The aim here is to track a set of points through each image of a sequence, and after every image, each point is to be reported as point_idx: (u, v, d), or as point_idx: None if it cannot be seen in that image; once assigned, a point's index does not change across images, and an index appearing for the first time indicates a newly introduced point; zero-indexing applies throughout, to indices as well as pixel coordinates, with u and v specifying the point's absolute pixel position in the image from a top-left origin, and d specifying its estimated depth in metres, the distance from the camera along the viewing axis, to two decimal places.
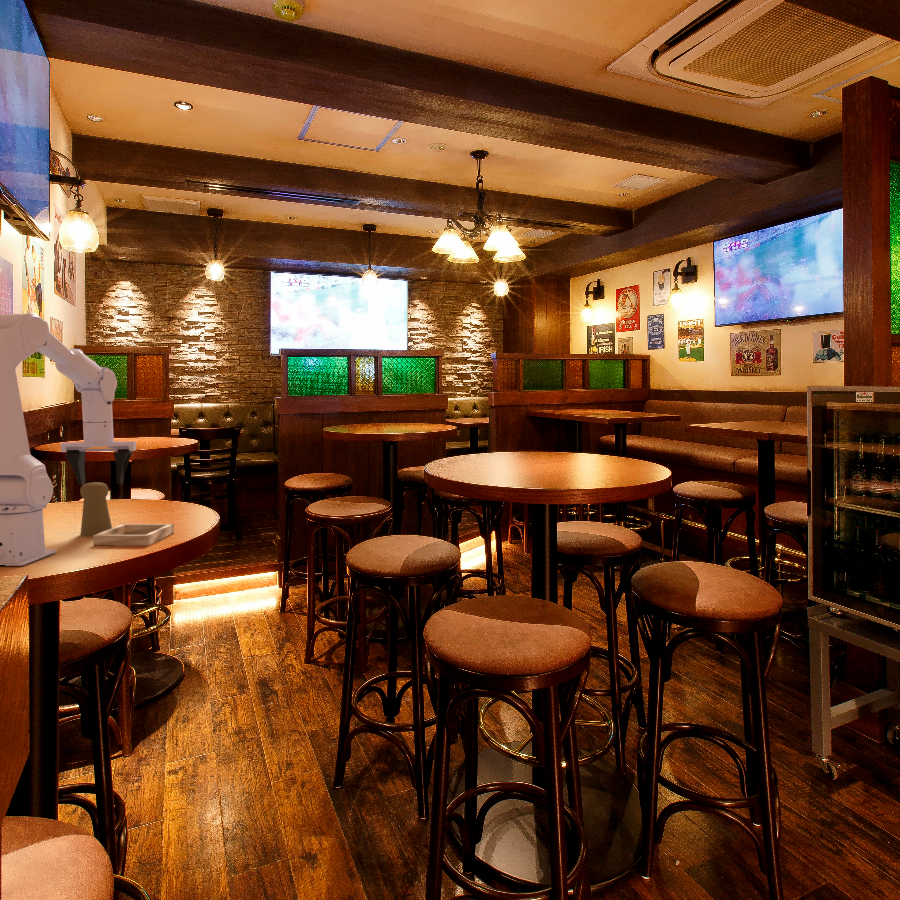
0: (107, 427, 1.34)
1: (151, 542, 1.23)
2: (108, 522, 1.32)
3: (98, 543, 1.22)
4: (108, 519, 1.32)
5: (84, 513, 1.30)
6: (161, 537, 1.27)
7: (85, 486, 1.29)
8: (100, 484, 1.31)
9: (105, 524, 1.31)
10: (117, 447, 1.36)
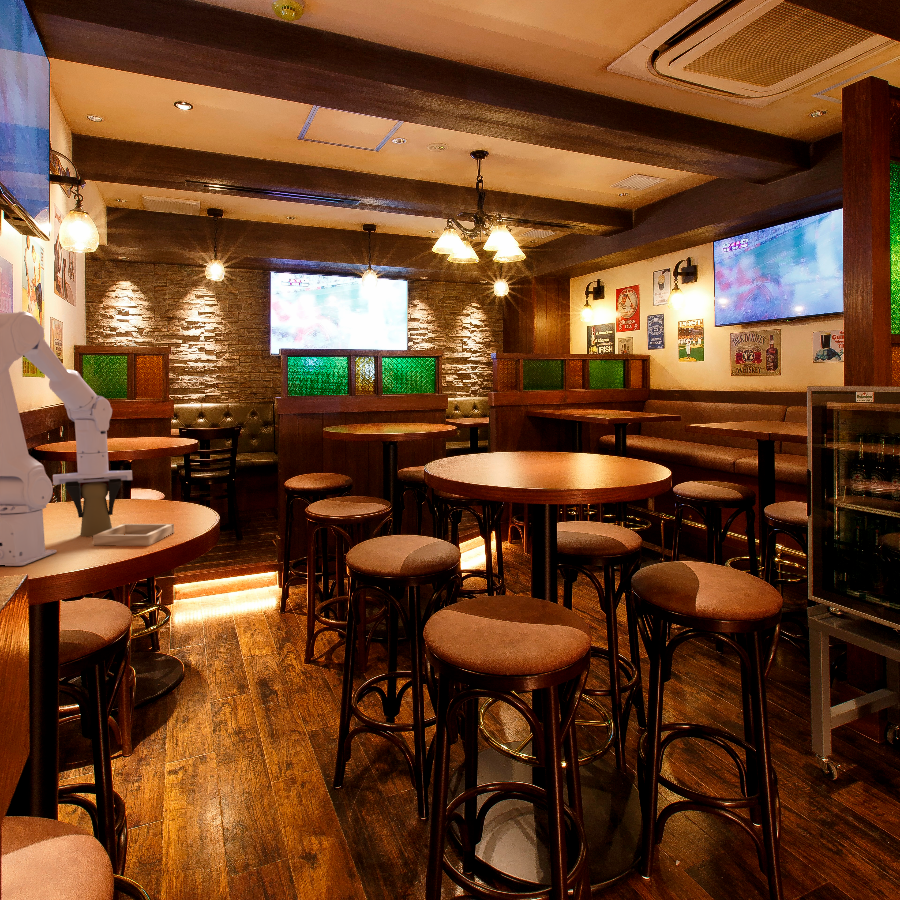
0: (105, 457, 1.31)
1: (151, 542, 1.23)
2: (108, 522, 1.32)
3: (98, 543, 1.22)
4: (108, 519, 1.32)
5: (84, 513, 1.30)
6: (161, 537, 1.27)
7: (85, 486, 1.29)
8: (100, 484, 1.31)
9: (105, 524, 1.31)
10: (113, 477, 1.33)
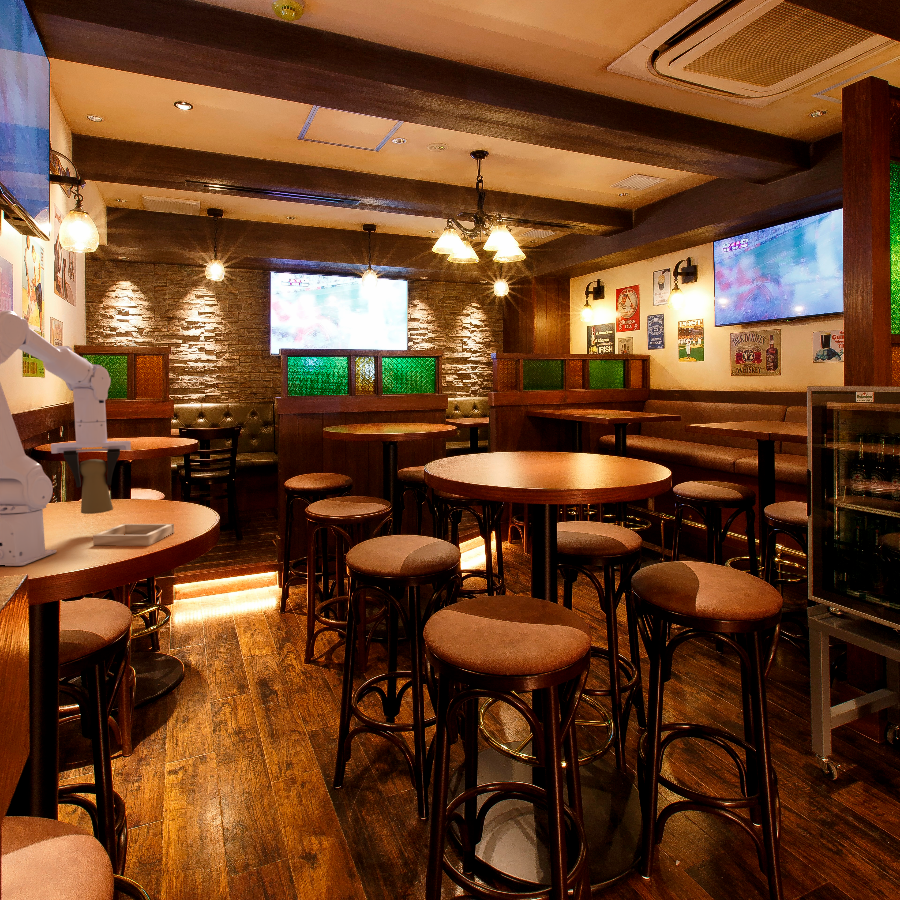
0: (103, 426, 1.30)
1: (151, 542, 1.23)
2: (108, 499, 1.32)
3: (98, 543, 1.22)
4: (108, 496, 1.32)
5: (84, 490, 1.30)
6: (161, 537, 1.27)
7: (84, 463, 1.29)
8: (99, 461, 1.30)
9: (105, 501, 1.31)
10: (112, 447, 1.32)
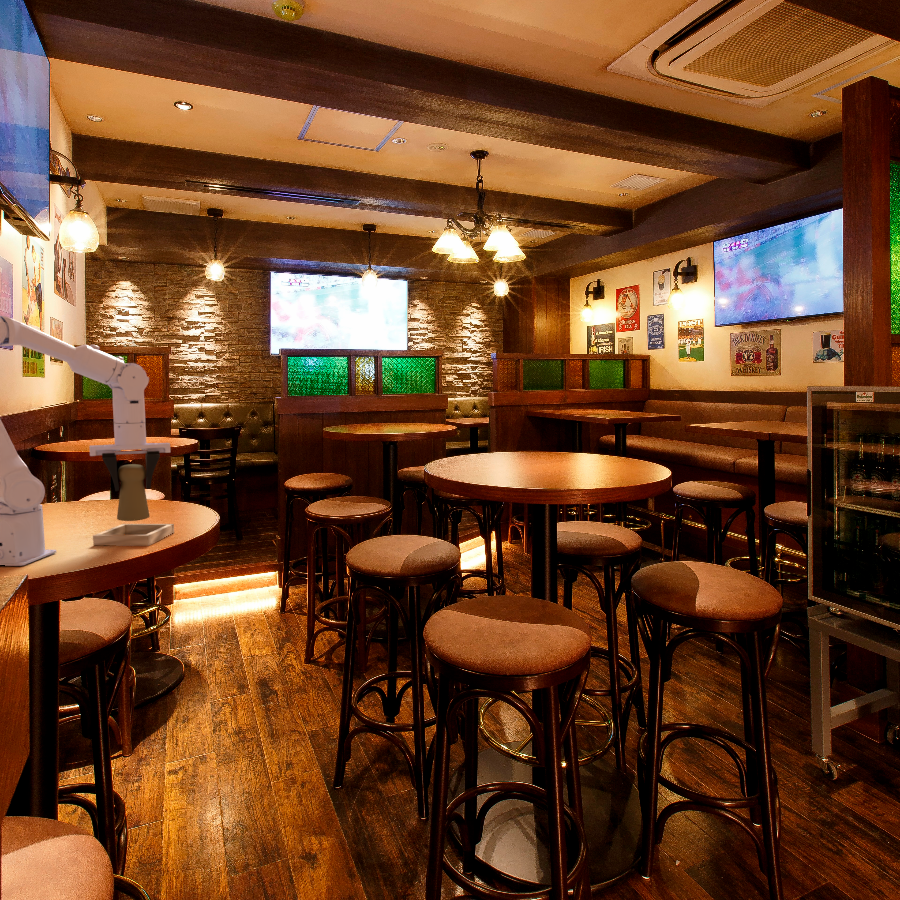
0: (143, 428, 1.25)
1: (151, 542, 1.23)
2: (146, 506, 1.27)
3: (98, 543, 1.22)
4: (146, 503, 1.28)
5: (122, 496, 1.25)
6: (161, 537, 1.27)
7: (124, 468, 1.24)
8: (139, 467, 1.26)
9: (143, 508, 1.27)
10: (151, 449, 1.27)
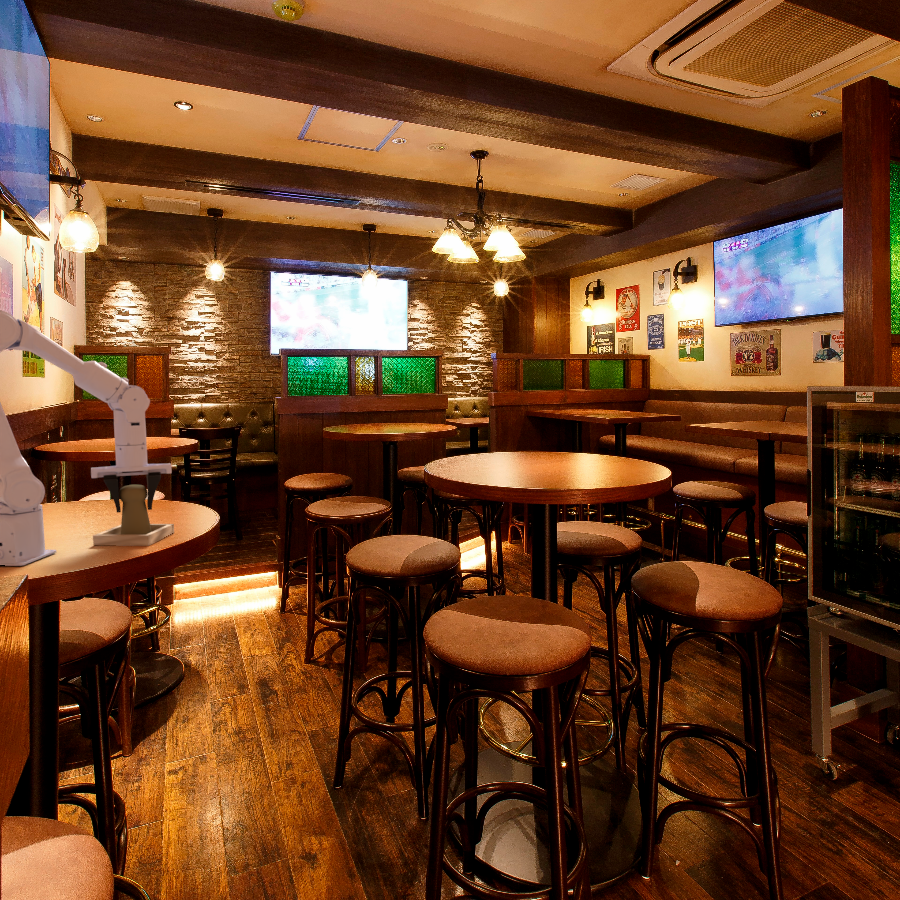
0: (144, 449, 1.25)
1: (151, 542, 1.23)
2: (149, 525, 1.28)
3: (98, 543, 1.22)
4: (148, 522, 1.28)
5: (124, 517, 1.25)
6: (161, 537, 1.27)
7: (125, 489, 1.25)
8: (140, 487, 1.26)
9: (146, 528, 1.27)
10: (152, 470, 1.28)
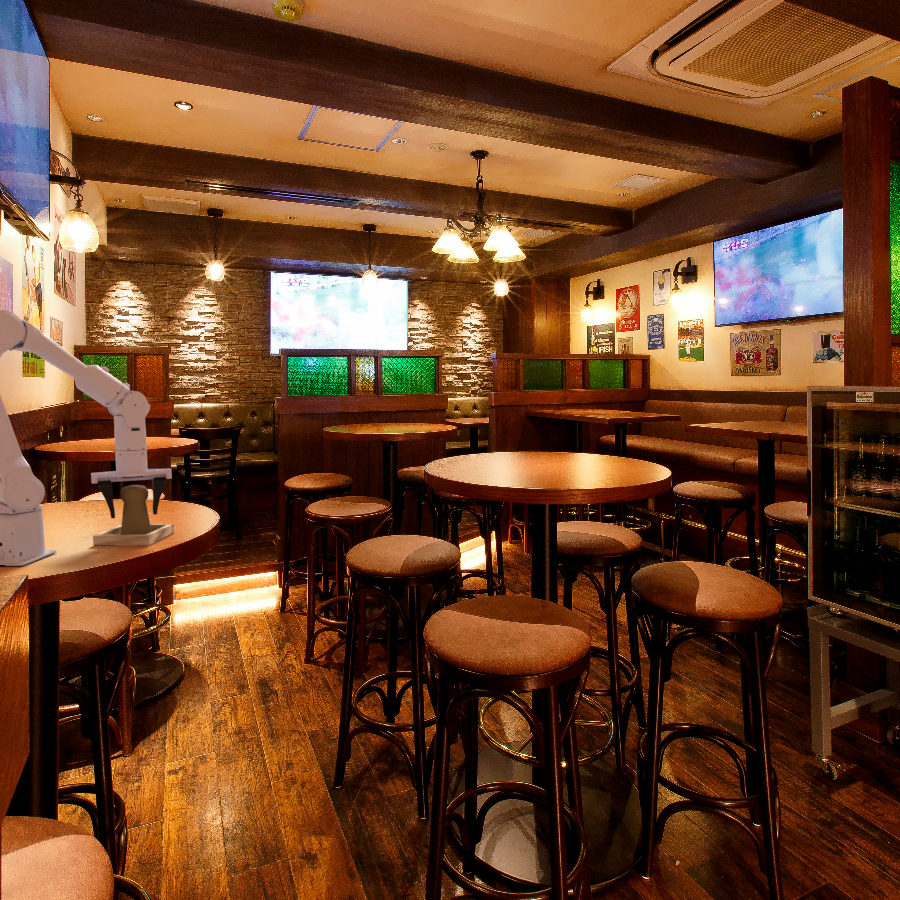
0: (144, 455, 1.25)
1: (151, 542, 1.23)
2: (149, 526, 1.28)
3: (98, 543, 1.22)
4: (149, 523, 1.28)
5: (125, 517, 1.26)
6: (161, 537, 1.27)
7: (126, 489, 1.25)
8: (141, 487, 1.27)
9: (146, 528, 1.27)
10: (152, 475, 1.28)
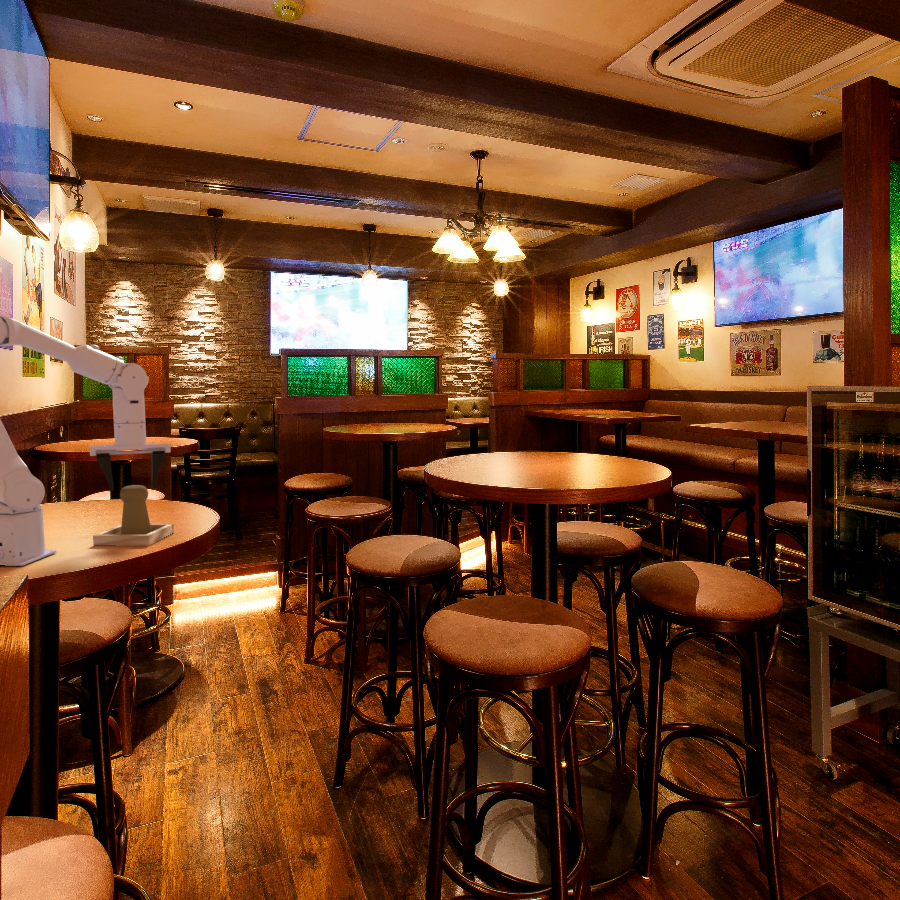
0: (143, 428, 1.25)
1: (151, 542, 1.23)
2: (149, 526, 1.28)
3: (98, 543, 1.22)
4: (149, 523, 1.28)
5: (125, 517, 1.26)
6: (161, 537, 1.27)
7: (126, 489, 1.25)
8: (141, 487, 1.27)
9: (146, 528, 1.27)
10: (151, 449, 1.27)
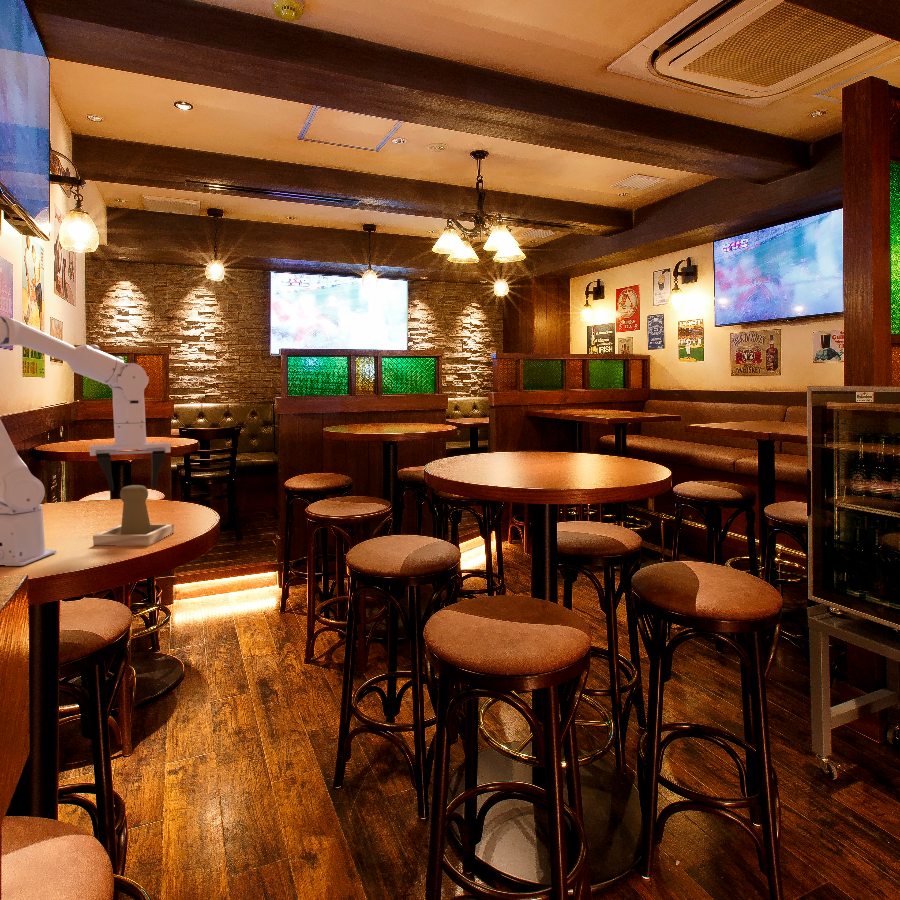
0: (143, 428, 1.25)
1: (151, 542, 1.23)
2: (149, 526, 1.28)
3: (98, 543, 1.22)
4: (149, 523, 1.28)
5: (125, 517, 1.26)
6: (161, 537, 1.27)
7: (126, 489, 1.25)
8: (141, 487, 1.27)
9: (146, 528, 1.27)
10: (151, 449, 1.27)
